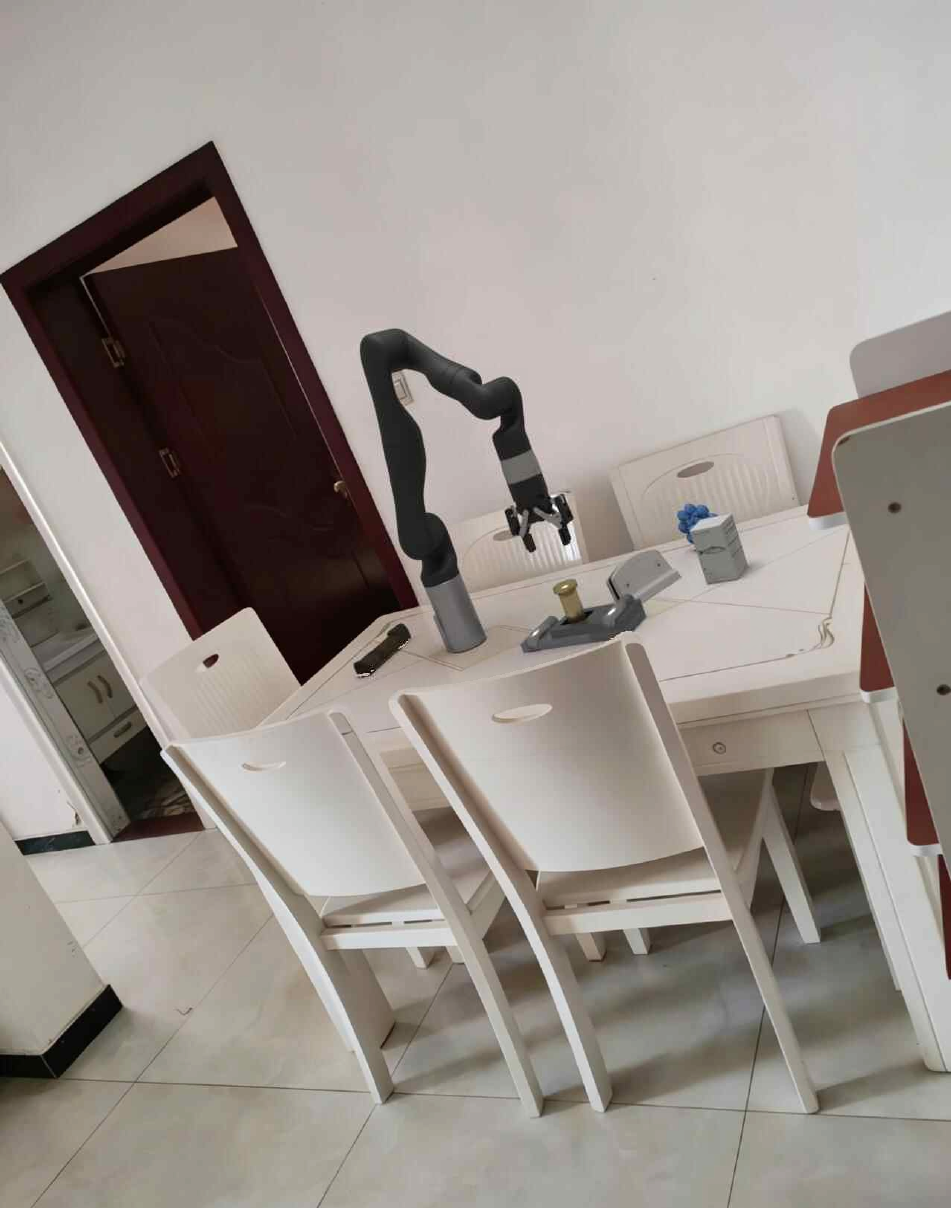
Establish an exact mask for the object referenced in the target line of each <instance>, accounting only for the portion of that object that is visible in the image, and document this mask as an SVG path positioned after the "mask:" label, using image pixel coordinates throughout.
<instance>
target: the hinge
mask: <svg viewBox="0 0 951 1208" xmlns="http://www.w3.org/2000/svg"><path fill="white" fill-rule="evenodd" d="M680 579H682V576H681V574H680V572H679V571H678V570H677V569H675V568H672V566H671V565H670V564H669V562H668V561H667V560H666V558H665V557H664V555H662V554H661V552H660V551H659V550H658V549H650V550H645V551H642V552H639V553H636V554H633V555H632V556H630V557H628V558H627V559H625V560H624V561H622V562H621V563H619V565H617V566H616V567H615V568H614V569H613V571H612V572H611V573H610V575H609V576H608V577H607V579H606V581H605V584H606V587H607V588H608V590H609V592H610V595H611V596H612V599H613V601H614V603H616V602H617V601H618V600H619V599H620V598H621V597H622V596H623V595H624V594H631V595H632V596H633V597H634V598H635V600H637V599H640V600H641V603H642V604H644V603H645V602H647V601H648V600H650V599H652V598H653V597H654V596H656V595H657V594H659V593H660V592H662V591H663V590H664V589H667V588H668V587H669V586H670V585H672V584H673V583H675V582H676V581H678V580H680Z"/></svg>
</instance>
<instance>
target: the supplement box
mask: <svg viewBox="0 0 951 1208" xmlns="http://www.w3.org/2000/svg"><path fill="white" fill-rule="evenodd" d="M690 534H691V537H692V540H693V543H694V544H693V545H694V546H693V547H694V548H695V552H696V555H697V558H698V560H699V561H698V562H699V564H700V567H701V570H702V574H703V576H704V579H705V583H706V585H710V584H714V583H715V584H716V583H719V582H720V583H721V582H727V581H735V580H738V579H739V578H740V577H742V575H743V574H744V573H745V571H746V570H747V569H748V568H749V564H748V561H747V558H746V555H745V551H744V548H743V545H742V541H741V539H740V538H741V537H740V535H739V532H738V529H737V526H736V522H735V519H734V515H733V513H728V514H722V515H718V516H717V517H711V518H706V519H702V520H700V521H699V522H698V523H697V524H696V525H695V526H694V527H693V528H692V529H691V530H690Z"/></svg>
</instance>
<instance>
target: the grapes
mask: <svg viewBox="0 0 951 1208" xmlns="http://www.w3.org/2000/svg"><path fill="white" fill-rule="evenodd" d="M676 516H677V519H678V520H679V521H680V522H679V523H678V525H677V528H678V530H679V531H680V533H682V534H685V535H686V534H687V535H686V541H687V543H689V544H692V545H694V543H693V540H692V537H691V534H690V530H691V529H692V528H693V527H694V526H695V525H696V524H697V523H698V522H699V521H700V520H702V519H706V518H711V517H717V516H719V514H716V513H715V512H710V510H709V508H708V507H707V506H706V505H705V504H698V505H695V504H693V503H685V505H684V506H683V509H680V510H679V511H677V514H676Z"/></svg>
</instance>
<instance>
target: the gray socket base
mask: <svg viewBox="0 0 951 1208" xmlns="http://www.w3.org/2000/svg"><path fill="white" fill-rule="evenodd" d="M583 608H584V607H583ZM584 611H585V614H586V616H587V619H586V620H585V621H584V622H580V623H574V624H569V622H568V619H567V617H566V614H565V615H563V617H562V618H561V619H560V620H559V619H558V617H556V616H555V615H548V617H546V618H545V620H543V621H542V622H541V623H540V624H539V625H538V626H537V627H535V629H534V630H533V631H532V632H531V633H529V635H528V636H527V637H525V639H524V640H523V641H522V642H521V643H520V647H521V649H522V652H523V653H529V652H528V651H530V652H534V650H536V651H540V650H539V649H543V650H549V649H548V648H550V649H555V648H554V647H557V648H563V647H570V646H577V645H582V644H590V643H597V642H605V641H610V640H609V639H610V638H614V637H615V636H616V635H618V634H620V633H621V632H625V631H633V632H634V631H635V629H636V628H637V627H638V626H639V625H640V624H641V623H642V621H644V619H645V618H646V617H647V613H646V611H645V609H644V606H643V603H641V600H640V599H637V600H635V598H634V597H633V596H632V595H631V594H624V595H623V596H622V597H621V598H620V599H619V600H618V601H617V602H616V603H615V602H613V603H609V604H603V605H598V606H591V607H590V606H589V607H585V608H584ZM562 646H563V647H562Z"/></svg>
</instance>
